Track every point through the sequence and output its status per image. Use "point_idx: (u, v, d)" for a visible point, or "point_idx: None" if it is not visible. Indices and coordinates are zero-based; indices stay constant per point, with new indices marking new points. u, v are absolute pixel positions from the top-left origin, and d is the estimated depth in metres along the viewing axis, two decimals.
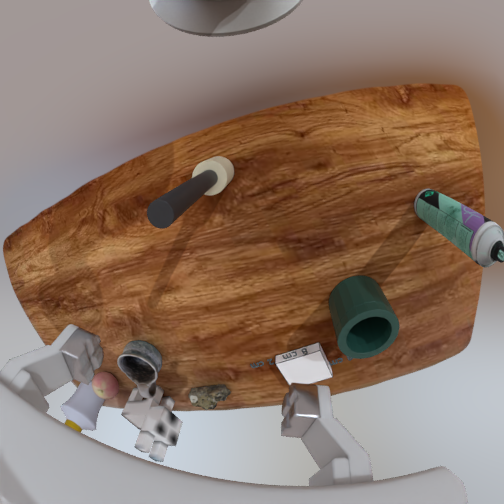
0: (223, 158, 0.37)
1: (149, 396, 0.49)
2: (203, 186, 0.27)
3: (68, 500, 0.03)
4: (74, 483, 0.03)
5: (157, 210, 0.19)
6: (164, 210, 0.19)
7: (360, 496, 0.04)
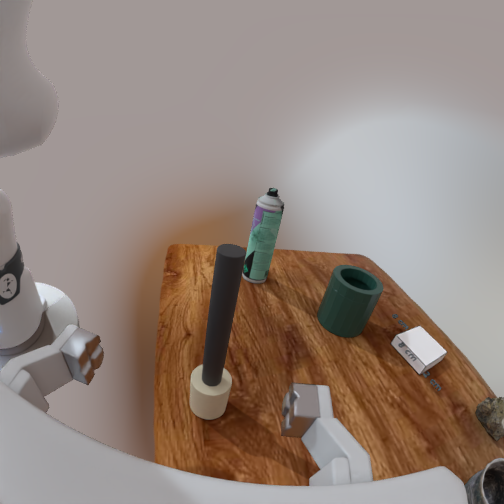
0: None
1: None
2: None
3: (68, 500, 0.03)
4: (74, 483, 0.03)
5: (227, 250, 0.21)
6: (228, 247, 0.21)
7: (360, 496, 0.04)
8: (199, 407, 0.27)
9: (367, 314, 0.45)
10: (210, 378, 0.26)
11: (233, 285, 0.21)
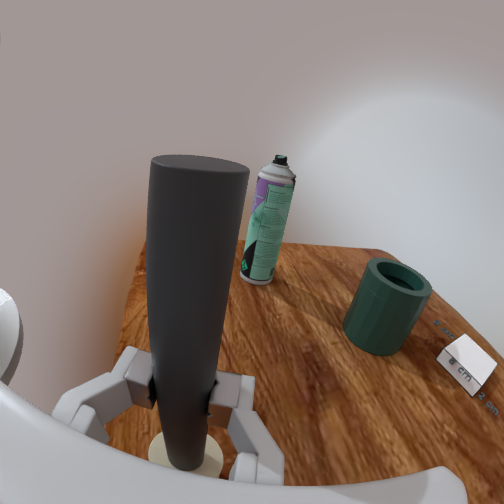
0: None
1: None
2: None
3: (68, 500, 0.03)
4: (74, 483, 0.03)
5: (184, 160, 0.06)
6: (192, 158, 0.06)
7: (360, 496, 0.04)
8: None
9: (413, 323, 0.30)
10: (180, 463, 0.11)
11: (204, 283, 0.06)
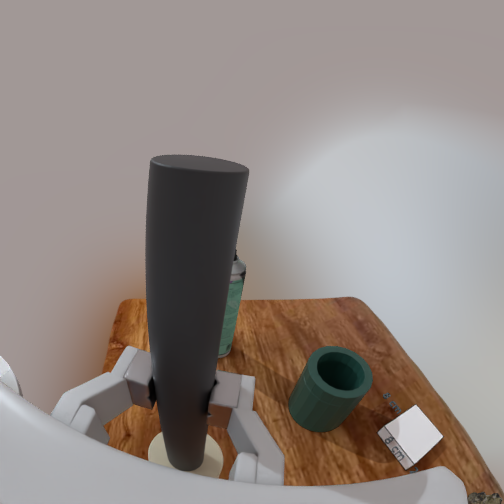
0: None
1: None
2: None
3: (68, 500, 0.03)
4: (74, 483, 0.03)
5: (184, 160, 0.06)
6: (192, 158, 0.06)
7: (360, 496, 0.04)
8: None
9: (349, 411, 0.32)
10: (180, 463, 0.11)
11: (204, 284, 0.06)
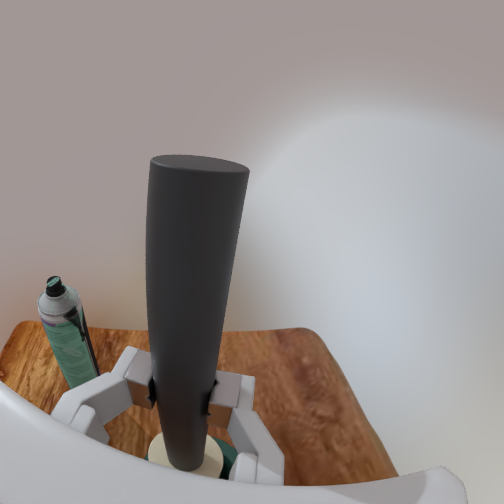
0: None
1: None
2: None
3: (68, 500, 0.03)
4: (74, 483, 0.03)
5: (184, 160, 0.06)
6: (192, 158, 0.06)
7: (360, 496, 0.04)
8: None
9: None
10: (180, 464, 0.11)
11: (204, 284, 0.06)
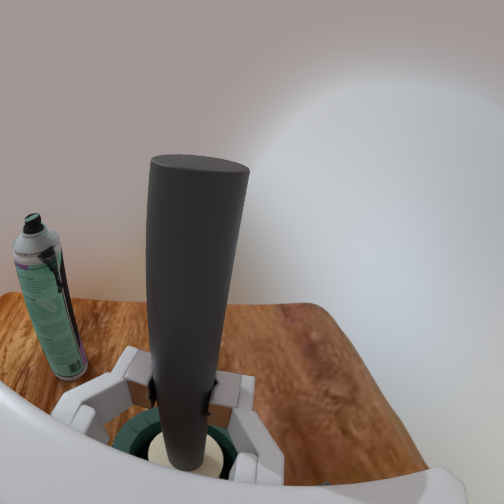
0: None
1: None
2: None
3: (68, 500, 0.03)
4: (74, 483, 0.03)
5: (184, 160, 0.06)
6: (192, 158, 0.06)
7: (360, 496, 0.04)
8: None
9: None
10: (180, 463, 0.11)
11: (205, 284, 0.06)
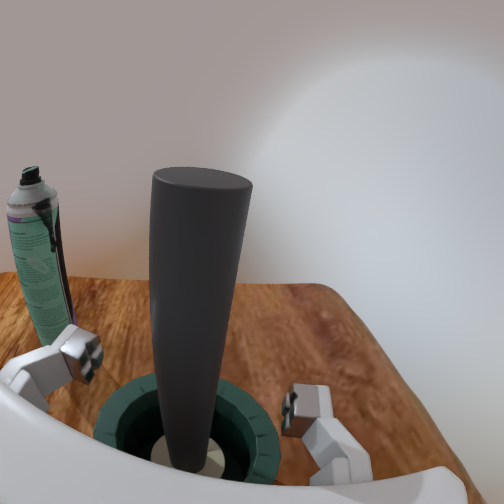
0: None
1: None
2: None
3: (68, 500, 0.03)
4: (74, 483, 0.03)
5: (187, 175, 0.06)
6: (194, 171, 0.06)
7: (360, 496, 0.04)
8: None
9: None
10: (183, 467, 0.11)
11: (208, 298, 0.06)
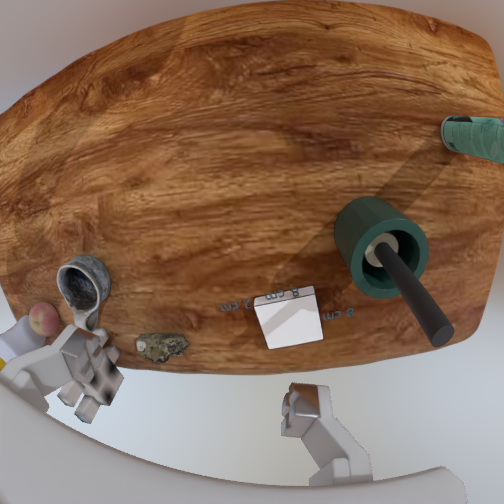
0: None
1: (85, 328, 0.37)
2: None
3: (68, 500, 0.03)
4: (74, 483, 0.03)
5: (443, 333, 0.16)
6: (448, 333, 0.16)
7: (360, 496, 0.04)
8: None
9: (343, 256, 0.33)
10: (378, 253, 0.29)
11: (420, 323, 0.19)
